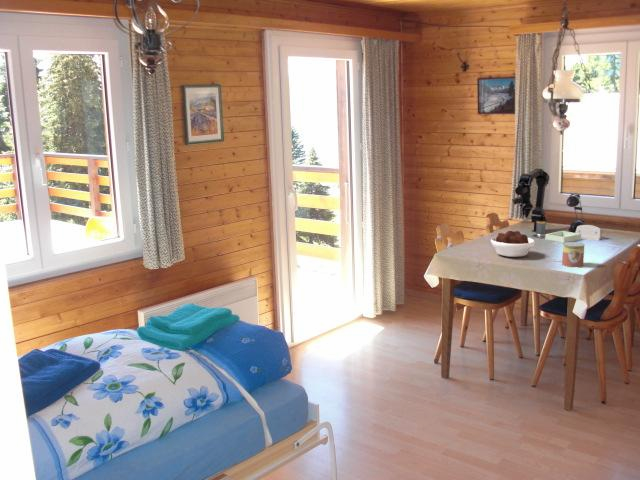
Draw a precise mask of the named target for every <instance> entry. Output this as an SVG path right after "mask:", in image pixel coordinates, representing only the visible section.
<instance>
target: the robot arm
mask: <svg viewBox="0 0 640 480" xmlns="http://www.w3.org/2000/svg"><path fill="white" fill-rule="evenodd" d="M534 179H535V183H536V186H537V191H536V192H537V193H536V200H535V208H534V207H533V206H534V205H533V204H532V203H531V202H532V201H531V197H532V195H531V192H532V191H531V189H532V188H531V186H532V183H533V181H534ZM549 181H550V175H549V174H548V172H546V171H545V170H544V169H542V168H537V167H536V168H535V169H533V170H532V171H530V172H528V173H522V174H521V175H520V177H519V179H518V183H517V187H515V189H514V192H515V194H516V195H517V197H514V198H512V204H513V205H514V206H516V205H517V204H518V205H519V206H520V207H521V213H522V216H524V217H525V219H528V217H529V215H530V212H531V215H530V217H531V219H530V220H531V223H533V230H531V231H532V232H535V233H536V227H537V221H544V222H546V223H547V221H548V220H547V217H546V215H545V214H546V213H545V210H544V201H545V200H544V199H545V192H546V187H547V186H548V184H549ZM533 208H534V209H533Z"/></svg>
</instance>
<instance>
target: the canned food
mask: <svg viewBox="0 0 640 480" xmlns="http://www.w3.org/2000/svg"><path fill="white" fill-rule="evenodd" d="M561 257H562V259H561V266H563V265H564V266H563V267H566V266H567V267H566V268H573V267H578V268H582V267H581V266H583V267H584V259H585V258H584V257H585V243H582V242H578V241H574V242H565V243H562V256H561Z"/></svg>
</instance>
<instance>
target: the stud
mask: <svg viewBox="0 0 640 480" xmlns="http://www.w3.org/2000/svg"><path fill="white" fill-rule="evenodd" d="M545 236H546V234H532V235H530V238H531V237H532V238H536V239H545Z"/></svg>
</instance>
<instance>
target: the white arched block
mask: <svg viewBox="0 0 640 480" xmlns="http://www.w3.org/2000/svg"><path fill="white" fill-rule="evenodd" d="M574 233H579V234H581V240H589V241H598V242H599V241H601V240H602V228H601V227H599V226H596V225H593V224H580V225H578V226H576V229H575V232H574Z"/></svg>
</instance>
